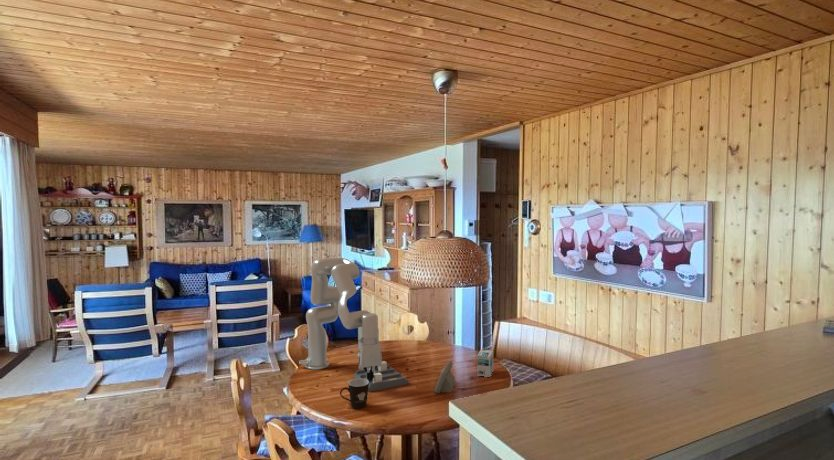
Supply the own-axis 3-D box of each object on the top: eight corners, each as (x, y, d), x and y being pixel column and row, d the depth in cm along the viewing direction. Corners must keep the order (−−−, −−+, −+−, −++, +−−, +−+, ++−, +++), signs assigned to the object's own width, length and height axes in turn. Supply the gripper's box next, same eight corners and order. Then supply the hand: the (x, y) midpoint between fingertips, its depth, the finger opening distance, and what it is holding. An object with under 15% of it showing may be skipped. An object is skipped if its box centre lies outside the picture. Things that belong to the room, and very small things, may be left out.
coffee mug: (369, 401, 182) (369, 378, 182) (368, 410, 173) (368, 386, 173) (342, 401, 181) (342, 378, 181) (339, 410, 173) (339, 386, 173)
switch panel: (368, 391, 192) (368, 385, 192) (354, 377, 209) (353, 371, 209) (407, 384, 201) (407, 377, 201) (390, 370, 219) (390, 364, 218)
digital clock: (442, 380, 205) (442, 358, 205) (460, 384, 201) (460, 361, 201) (428, 392, 191) (427, 369, 191) (446, 396, 187) (446, 372, 186)
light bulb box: (490, 378, 208) (490, 356, 208) (476, 376, 210) (477, 355, 210) (493, 370, 218) (493, 350, 218) (480, 369, 220) (480, 349, 220)
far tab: (380, 371, 211) (380, 363, 211) (378, 369, 214) (378, 362, 214) (386, 370, 213) (386, 362, 213) (384, 368, 215) (384, 360, 215)
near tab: (375, 384, 195) (375, 375, 195) (372, 382, 197) (372, 373, 197) (382, 383, 196) (382, 374, 196) (379, 380, 199) (379, 372, 199)
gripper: (356, 345, 188) (357, 385, 188) (387, 340, 195) (388, 380, 195) (351, 340, 195) (351, 380, 195) (381, 336, 201) (381, 374, 202)
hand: (370, 379), depth 195 cm, fingers closed
